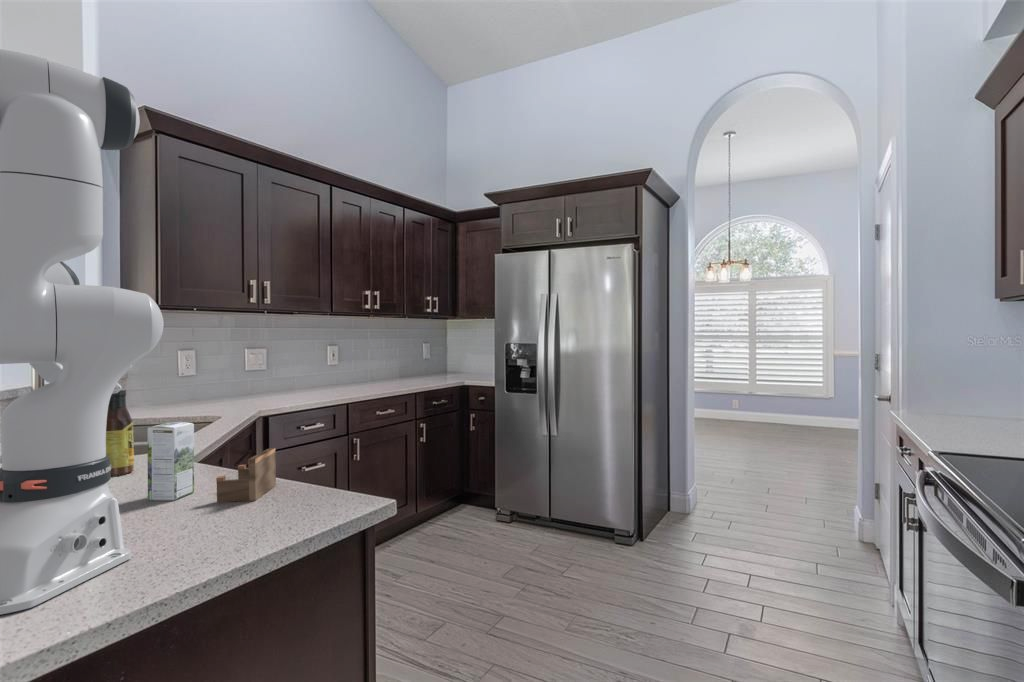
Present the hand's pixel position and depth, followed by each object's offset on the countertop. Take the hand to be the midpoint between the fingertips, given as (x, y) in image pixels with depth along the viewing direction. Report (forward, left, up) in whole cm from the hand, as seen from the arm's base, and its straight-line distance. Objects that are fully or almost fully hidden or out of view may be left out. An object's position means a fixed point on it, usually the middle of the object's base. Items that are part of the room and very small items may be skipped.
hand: (114, 391), depth 105 cm
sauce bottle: (+22, +14, -21) cm, 34 cm away
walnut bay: (0, -24, -21) cm, 32 cm away
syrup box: (0, -10, -21) cm, 24 cm away
